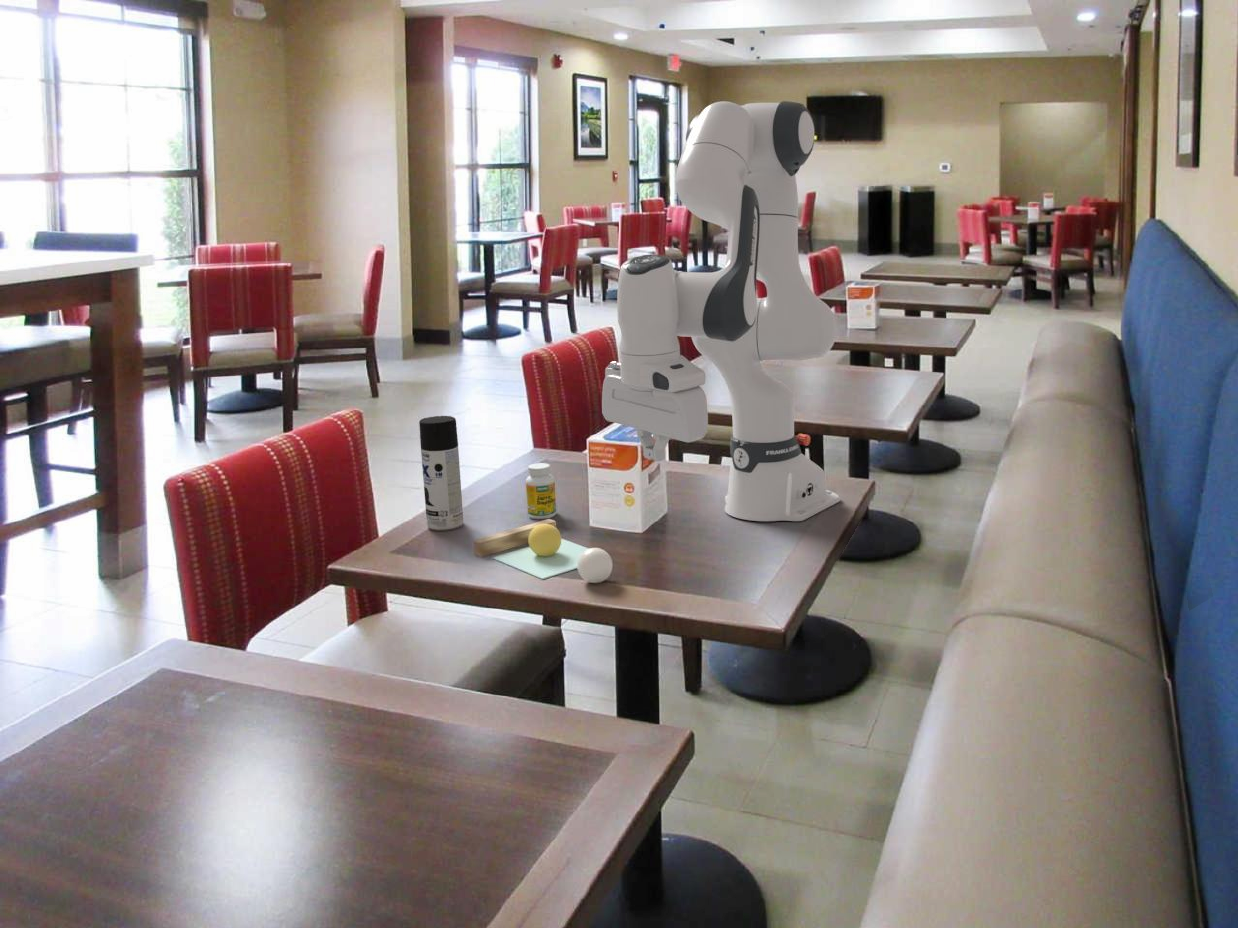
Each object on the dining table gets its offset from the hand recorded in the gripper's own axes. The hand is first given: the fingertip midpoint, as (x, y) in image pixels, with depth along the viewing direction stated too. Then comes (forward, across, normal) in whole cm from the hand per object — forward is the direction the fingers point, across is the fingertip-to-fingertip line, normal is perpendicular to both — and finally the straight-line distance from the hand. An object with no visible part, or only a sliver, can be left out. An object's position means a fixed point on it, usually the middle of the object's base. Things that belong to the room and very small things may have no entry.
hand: (654, 459), depth 175 cm
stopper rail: (+21, -32, -5) cm, 38 cm away
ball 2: (+18, -8, -6) cm, 20 cm away
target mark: (+21, -22, -5) cm, 30 cm away
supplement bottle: (+22, -42, +8) cm, 48 cm away
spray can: (+21, -50, -8) cm, 55 cm away
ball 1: (+18, -23, -5) cm, 30 cm away
